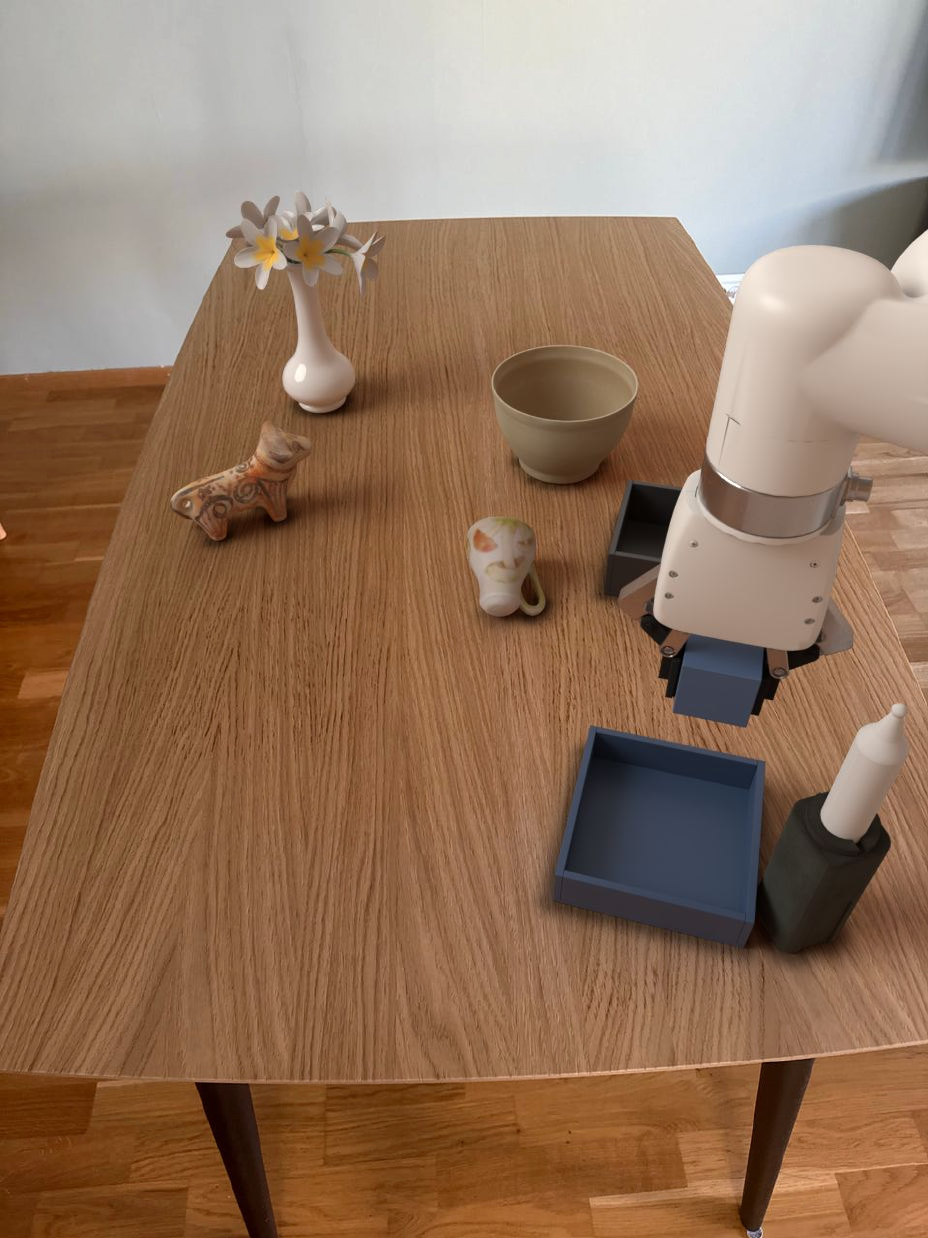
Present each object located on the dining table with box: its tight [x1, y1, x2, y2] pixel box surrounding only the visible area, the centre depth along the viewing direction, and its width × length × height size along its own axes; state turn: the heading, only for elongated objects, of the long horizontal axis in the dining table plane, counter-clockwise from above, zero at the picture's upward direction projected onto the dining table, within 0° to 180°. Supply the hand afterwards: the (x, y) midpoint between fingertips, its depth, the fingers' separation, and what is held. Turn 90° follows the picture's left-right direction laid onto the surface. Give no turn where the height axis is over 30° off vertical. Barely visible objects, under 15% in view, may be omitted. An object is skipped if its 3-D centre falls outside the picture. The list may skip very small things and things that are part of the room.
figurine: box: [169, 419, 313, 542], centre depth 99 cm, size 7×16×10 cm, turn 117°
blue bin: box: [552, 724, 766, 949], centre depth 71 cm, size 14×14×4 cm
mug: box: [465, 515, 546, 618], centre depth 92 cm, size 8×10×10 cm
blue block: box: [672, 634, 765, 729], centre depth 62 cm, size 5×5×5 cm
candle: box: [755, 702, 910, 955], centre depth 59 cm, size 5×5×25 cm
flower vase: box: [225, 189, 387, 414], centre depth 110 cm, size 13×18×25 cm
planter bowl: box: [490, 344, 640, 485], centre depth 104 cm, size 16×16×11 cm
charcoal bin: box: [603, 479, 683, 603], centre depth 93 cm, size 12×12×6 cm
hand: (713, 689), depth 64 cm, fingers closed on blue block, 5 cm apart
